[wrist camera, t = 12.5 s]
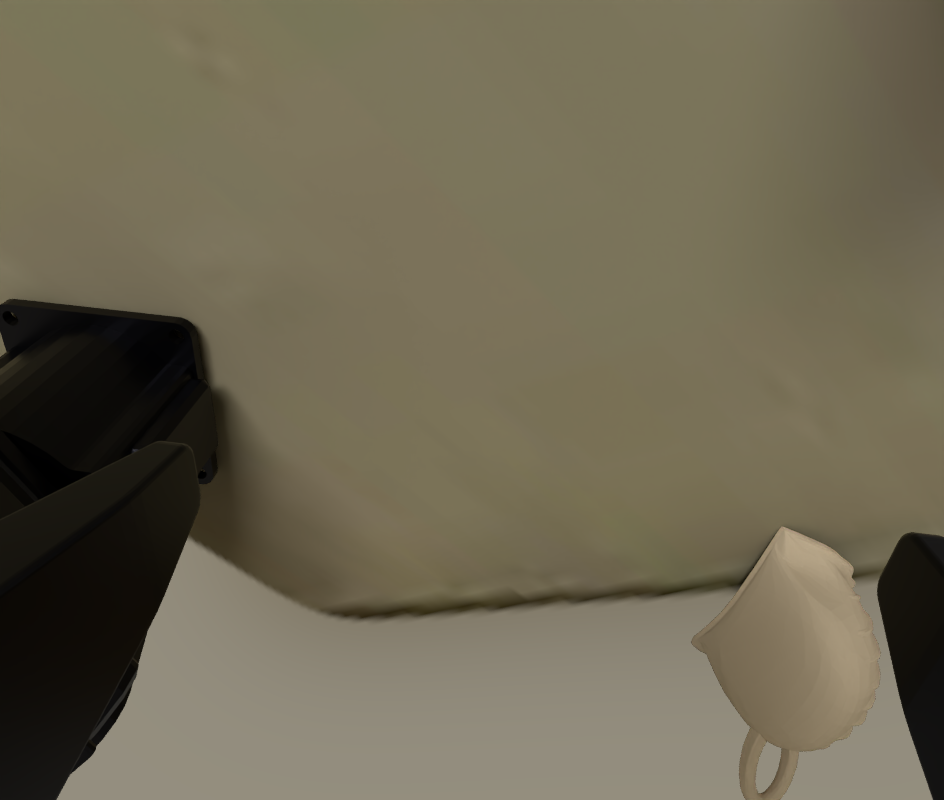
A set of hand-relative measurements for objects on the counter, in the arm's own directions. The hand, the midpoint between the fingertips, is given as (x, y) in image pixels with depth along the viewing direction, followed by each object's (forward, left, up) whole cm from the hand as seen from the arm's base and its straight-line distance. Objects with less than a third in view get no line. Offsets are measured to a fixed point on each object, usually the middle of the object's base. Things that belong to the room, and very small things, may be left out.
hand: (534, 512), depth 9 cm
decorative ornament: (+10, -15, -13) cm, 22 cm away
